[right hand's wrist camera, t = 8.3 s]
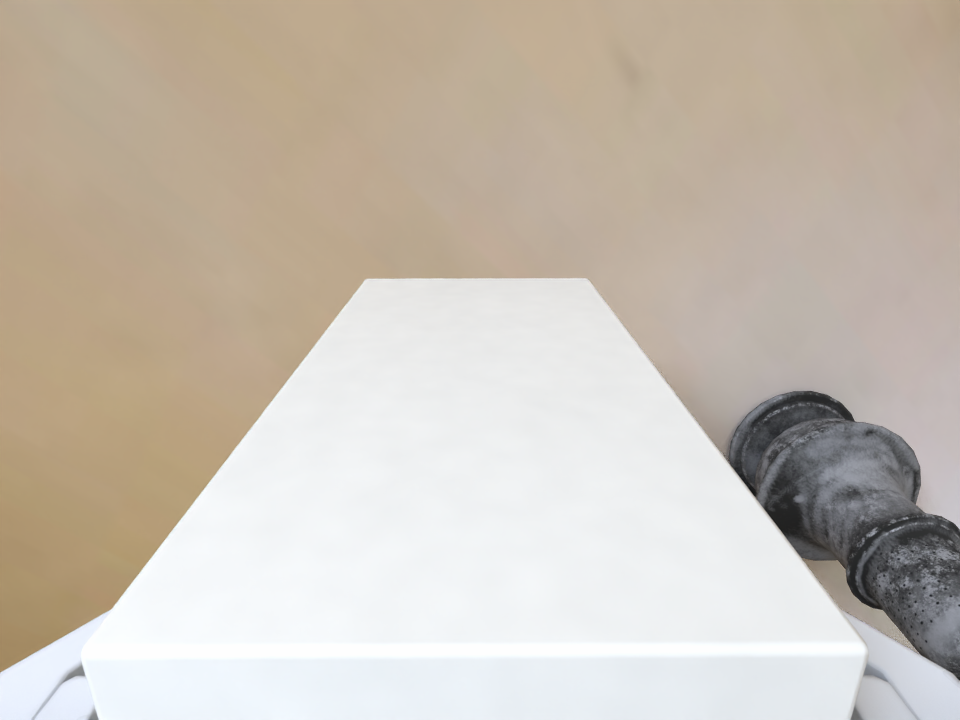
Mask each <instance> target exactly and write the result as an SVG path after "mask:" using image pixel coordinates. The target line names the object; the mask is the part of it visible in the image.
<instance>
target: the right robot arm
mask: <svg viewBox="0 0 960 720" xmlns="http://www.w3.org/2000/svg"><path fill="white" fill-rule="evenodd" d="M111 610H112V609H111ZM111 610H109V611H108V612H106V613H104V614H102V615H101V616H99V617H97V618H95V619H94V620H92V621H90V622H88V623H87V624H85V625H83V626H81V627H80V628H78V629H76V630H74V631H72V632H71V633H69V634H67V635H65V636H64V637H62V638H60V639H58V640H57V641H55V642H53V643H51V644H50V645H48V646H46V647H44V648H43V649H41V650H39V651H37V652H36V653H34V654H32V655H30V656H29V657H27V658H25V659H23V660H22V661H20V662H18V663H16V664H15V665H13V666H11V667H9V668H7V669H6V670H4V671H2V672H0V720H99V719H98V716H97V712H96V709H95V706H94V702H93V699H92V696H91V692H90V689H89V686H88V682H87V679H86V676H85V672H84V669H83V666H82V662H81V659H80V658H81V652H82V649H83V646H84V645H85V643H86V642H87V641H88V639H89V638H90V637H91V635H92V634H93V633H94V632H95V630H96V629H97V628H98V626H99V625H100V624H101V622H102V621H103V620H104V619H105V617H106V616H107V615H108V613H109V612H110V611H111ZM841 611H842V612H843V613H844V615H845V616H846V617H847V618H848V620H849V621H850V622H851V624H852V625H853V626H854V628H855V629H856V630H857V632H858V633H859V634H860V635H861V637H862V638H863V639H864V641H865V642H866V644H867V647H868V652H869V657H868V661H867V664H866V668H865V671H864V675H863V678H862V682H861V685H860V689H859V692H858V696H857V699H856V703H855V706H854V710H853V713H852V717H851V720H960V681H959V680H958V679H957V678H956V677H955V675H954V674H953V673H951V672H949V671H948V670H946V669H944V668H942V667H941V666H939V665H937V664H935V663H934V662H932V661H930V660H928V659H927V658H925V657H923V656H921V655H920V654H918V653H916V652H915V651H913V650H911V649H909V648H908V647H906V646H904V645H902V644H901V643H899V642H897V641H895V640H894V639H892V638H890V637H889V636H887V635H885V634H883V633H882V632H880V631H878V630H876V629H875V628H873V627H871V626H869V625H868V624H866V623H864V622H863V621H861V620H859V619H857V618H856V617H854V616H852V615H850V614H849V613H847V612H845V611H843V610H842V609H841Z"/></svg>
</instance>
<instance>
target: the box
mask: <svg viewBox="0 0 960 720" xmlns="http://www.w3.org/2000/svg"><path fill="white" fill-rule="evenodd" d="M868 657H869V652H868V647H867V644H866V642H865V641H864V639H863V638H862V637H861V635H860V634H859V633H858V632H857V630H856V629H855V628H854V626H853V625H852V624H851V622H850V621H849V620H848V618H847V617H846V616H845V615H844V613H843V612H842V611H841V609H840V608H839V607H838V605H837V604H836V603H835V601H834V600H833V599H832V597H831V596H830V595H829V594H828V592H827V591H826V590H825V588H824V587H823V586H822V584H821V583H820V582H819V580H818V579H817V578H816V577H815V575H814V574H813V573H812V571H811V570H810V569H809V567H808V566H807V565H806V563H805V562H804V561H803V560H802V558H801V557H800V556H799V554H798V553H797V552H796V550H795V549H794V548H793V546H792V545H791V544H790V542H789V541H788V540H787V539H786V537H785V536H784V535H783V533H782V532H781V531H780V529H779V528H778V527H777V525H776V524H775V523H774V522H773V520H772V519H771V518H770V516H769V515H768V514H767V512H766V511H765V510H764V508H763V507H762V506H761V505H760V503H759V502H758V501H757V499H756V498H755V497H754V495H753V494H752V493H751V491H750V490H749V489H748V487H747V486H746V485H745V484H744V482H743V481H742V480H741V478H740V477H739V476H738V474H737V473H736V472H735V470H734V469H733V468H732V467H731V465H730V464H729V463H728V461H727V460H726V459H725V457H724V456H723V455H722V453H721V452H720V451H719V450H718V448H717V447H716V446H715V444H714V443H713V442H712V440H711V439H710V438H709V436H708V435H707V434H706V432H705V431H704V430H703V429H702V427H701V426H700V425H699V423H698V422H697V421H696V419H695V418H694V417H693V415H692V414H691V413H690V412H689V410H688V409H687V408H686V406H685V405H684V404H683V402H682V401H681V400H680V398H679V397H678V396H677V395H676V393H675V392H674V391H673V389H672V388H671V387H670V385H669V384H668V383H667V381H666V380H665V379H664V377H663V376H662V375H661V374H660V372H659V371H658V370H657V368H656V367H655V366H654V364H653V363H652V362H651V360H650V359H649V358H648V357H647V355H646V354H645V353H644V351H643V350H642V349H641V347H640V346H639V345H638V343H637V342H636V341H635V340H634V338H633V337H632V336H631V334H630V333H629V332H628V330H627V329H626V328H625V326H624V325H623V324H622V323H621V321H620V320H619V319H618V317H617V316H616V315H615V313H614V312H613V311H612V309H611V308H610V307H609V305H608V304H607V303H606V302H605V300H604V299H603V298H602V296H601V295H600V294H599V292H598V291H597V290H596V288H595V287H594V286H593V285H592V283H591V282H590V281H589V279H587V278H498V279H366V280H365V281H364V282H363V283H362V285H361V286H360V287H359V289H358V290H357V291H356V292H355V294H354V295H353V296H352V298H351V299H350V300H349V302H348V303H347V304H346V305H345V307H344V308H343V309H342V311H341V312H340V313H339V315H338V316H337V317H336V318H335V320H334V321H333V322H332V324H331V325H330V326H329V328H328V329H327V330H326V331H325V333H324V334H323V335H322V337H321V338H320V339H319V341H318V342H317V343H316V344H315V346H314V347H313V348H312V350H311V351H310V352H309V354H308V355H307V356H306V357H305V359H304V360H303V361H302V363H301V364H300V365H299V366H298V368H297V369H296V370H295V372H294V373H293V374H292V376H291V377H290V378H289V379H288V381H287V382H286V383H285V385H284V386H283V387H282V389H281V390H280V391H279V392H278V394H277V395H276V396H275V398H274V399H273V400H272V402H271V403H270V404H269V405H268V407H267V408H266V409H265V411H264V412H263V413H262V415H261V416H260V417H259V418H258V420H257V421H256V422H255V424H254V425H253V426H252V428H251V429H250V430H249V431H248V433H247V434H246V435H245V437H244V438H243V439H242V441H241V442H240V443H239V444H238V446H237V447H236V448H235V450H234V451H233V452H232V454H231V455H230V456H229V457H228V459H227V460H226V461H225V463H224V464H223V465H222V467H221V468H220V469H219V470H218V472H217V473H216V474H215V476H214V477H213V478H212V480H211V481H210V482H209V483H208V485H207V486H206V487H205V489H204V490H203V491H202V493H201V494H200V495H199V496H198V498H197V499H196V500H195V502H194V503H193V504H192V506H191V507H190V508H189V509H188V511H187V512H186V513H185V515H184V516H183V517H182V519H181V520H180V521H179V522H178V524H177V525H176V526H175V528H174V529H173V530H172V532H171V533H170V534H169V535H168V537H167V538H166V539H165V541H164V542H163V543H162V545H161V546H160V547H159V548H158V550H157V551H156V552H155V554H154V555H153V556H152V558H151V559H150V560H149V561H148V563H147V564H146V565H145V567H144V568H143V569H142V571H141V572H140V573H139V574H138V576H137V577H136V578H135V580H134V581H133V582H132V584H131V585H130V586H129V587H128V589H127V590H126V591H125V593H124V594H123V595H122V597H121V598H120V599H119V600H118V602H117V603H116V604H115V606H114V607H113V608H112V610H111V611H110V612H109V613H108V615H107V616H106V617H105V619H104V620H103V621H102V622H101V624H100V625H99V626H98V628H97V629H96V630H95V632H94V633H93V634H92V635H91V637H90V638H89V639H88V641H87V642H86V643H85V645H84V646H83V649H82V652H81V658H80V659H81V662H82V666H83V669H84V672H85V676H86V679H87V682H88V686H89V689H90V692H91V696H92V699H93V702H94V706H95V709H96V712H97V716H98V719H99V720H851V717H852V713H853V710H854V706H855V703H856V699H857V696H858V692H859V689H860V685H861V682H862V678H863V675H864V671H865V668H866V664H867V661H868Z"/></svg>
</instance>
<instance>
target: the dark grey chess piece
mask: <svg viewBox="0 0 960 720" xmlns="http://www.w3.org/2000/svg"><path fill="white" fill-rule="evenodd" d="M729 459H730V465H731V467H732V468H733V469H734V470H735V472H736V473H737V474H738V476H739V477H740V478H741V480H742V481H743V482H744V484H745V485H746V486H747V487H748V489H749V490H750V491H751V493H752V494H753V495H754V496H755V497H757V501H758V502H759V503H760V505H761V506H762V507H763V508H764V510H765V511H766V512H767V514H768V515H769V516H770V518H771V519H772V520H773V522H774V523H775V524H776V525H777V527H778V528H779V529H780V531H781V532H782V533H783V535H784V536H785V537H786V539H787V540H788V541H789V542H790V544H791V545H792V546H793V548H794V549H795V550H796V552H797V553H798V554H799V556H800V557H801V558H805V559H810V560H815V561H816V560H838V561H839V562H840V563H841V564H842V566H843V567H844V568H845V569H846V577H847V583H848V585H849V587H850V589H851V592H852V593H853V594H854V595H855V596H856V597H857V598H858V599H859V600H860V601H861V602H862V603H864V604H866V605H868V606H870V607H872V608H875V609H880V610H883V611H884V612H885V613H886V614H887V615H888V616H889V618H890V619H891V620H892V621H893V622H894V624H895V625H896V626H897V627H898V628H899V630H900V631H901V632H902V633H903V634H904V635H905V637H906V638H907V639H908V640H909V641H910V643H911V644H912V645H913V646H914V647H915V649H916V650H917V651H918V652H919V653H920V654H921V656H923V657H925V658H927V659H928V660H930V661H932V662H934V663H935V664H937V665H939V666H941V667H942V668H944V669H946V670H948V671H949V672H951V673H953V674H954V675H955V677H956V678H957V679H958V680H959V681H960V529H959V528H958V527H957V526H956V525H955V524H954V523H952V522H951V521H949V520H947V519H945V518H943V517H941V516H937V515H932V514H927V513H925V512H923V511H922V510H921V509H920V508H919V507H918V506H916V505H915V504H916V501H917V497H918V494H919V490H920V486H921V476H920V466H919V463H918V461H917V458H916V456H915V453H914V451H913V450H912V449H911V447H910V446H909V445H908V444H907V443H906V442H905V441H904V440H903V439H902V437H900V436H899V435H897V434H895V433H893V432H891V431H890V430H888V429H886V428H884V427H882V426H878V425H873V424H869V423H865V422H855V421H854V419H853V417H852V414H851V413H850V412H849V411H848V410H847V409H846V408H845V407H844V406H843V404H842V403H840V402H839V401H837V400H835V399H833V398H832V397H830V396H828V395H826V394H821V393H817V392H813V391H794V392H790V393H786V394H782V395H778V396H775V397H773V398H772V399H770V400H768V401H766V402H764V403H762V404H760V405H759V406H758V407H756V408H755V409H754V410H753V411H752V412H750V413H749V414H748V415H747V416H746V417H745V419H744V420H743V421H742V423H741V424H740V425H739V426H738V428H737V430H736V432H735V434H734V437H733V439H732V441H731V447H730V454H729Z"/></svg>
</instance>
